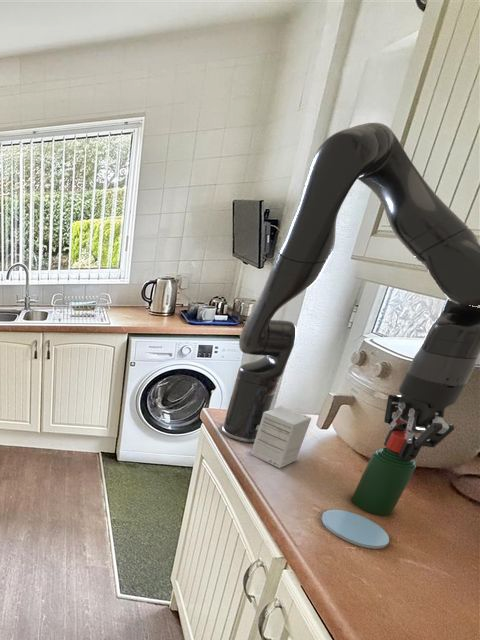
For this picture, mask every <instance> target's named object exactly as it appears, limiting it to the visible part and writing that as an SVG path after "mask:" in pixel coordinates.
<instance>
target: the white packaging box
mask: <svg viewBox="0 0 480 640" xmlns="http://www.w3.org/2000/svg"><path fill="white" fill-rule="evenodd" d="M311 421H312V417H311V416H308V415H306V414H303V413H300V412H297V411H296V410H291V409H289V408H287V407H284V406H280V405H279V406H277V407H274V408H272V409H271V408H270V410H269V411H266V412H264V413H263V416H262V419H261V423H260V426H259V429H258V432H257V435H256V439H255V442H253V446H252V448H251V452H250V454H251V455H252V456H254V457H256V458H257V459H260V460H262V461H264V462H265V463H268V464H270V465H272V466H274V467H276V468H278V469H281V468H283V467H285V466H288V465H290V464H291V463H293V462H296V461H297V459H298V456H299V453H300V450H301V449H302V445H303V443H304V440H305V437H306V434H307V432H308V429H309V427H310V424H311Z"/></svg>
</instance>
